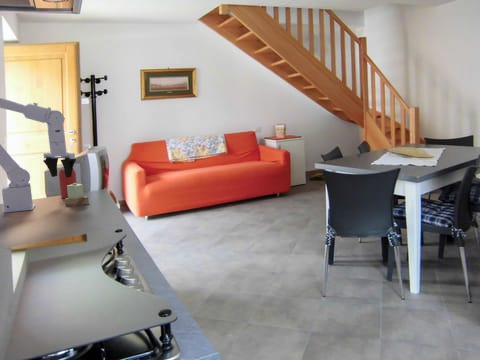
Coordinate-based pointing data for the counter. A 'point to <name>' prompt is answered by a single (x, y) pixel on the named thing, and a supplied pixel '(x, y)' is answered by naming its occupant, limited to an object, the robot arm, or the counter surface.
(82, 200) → the walnut block
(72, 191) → the sage brick
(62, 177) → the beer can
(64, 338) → the counter surface
